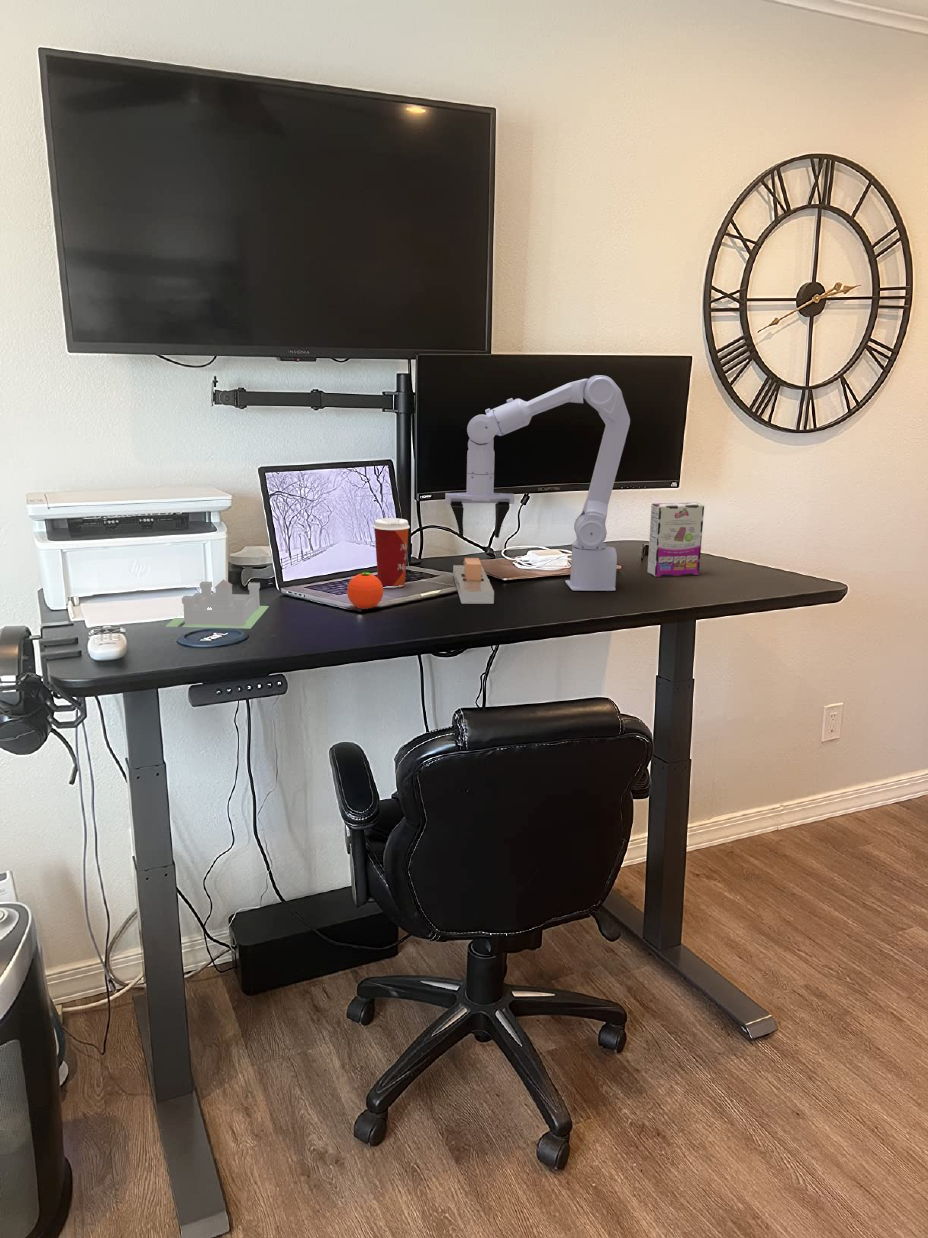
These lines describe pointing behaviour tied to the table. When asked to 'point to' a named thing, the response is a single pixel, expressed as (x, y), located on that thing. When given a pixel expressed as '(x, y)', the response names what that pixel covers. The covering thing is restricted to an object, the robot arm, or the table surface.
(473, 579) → the orange block
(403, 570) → the paper cup
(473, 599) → the rail
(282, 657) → the table surface
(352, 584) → the clementine
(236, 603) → the castle model
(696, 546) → the candy bar box
